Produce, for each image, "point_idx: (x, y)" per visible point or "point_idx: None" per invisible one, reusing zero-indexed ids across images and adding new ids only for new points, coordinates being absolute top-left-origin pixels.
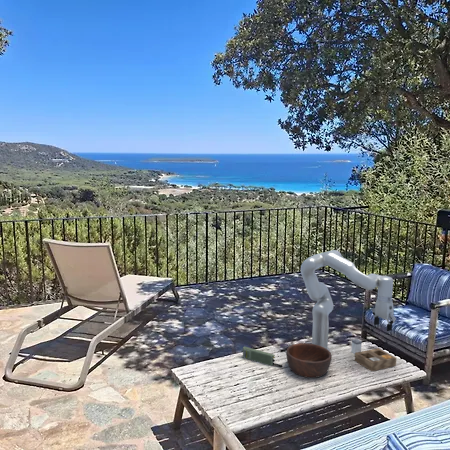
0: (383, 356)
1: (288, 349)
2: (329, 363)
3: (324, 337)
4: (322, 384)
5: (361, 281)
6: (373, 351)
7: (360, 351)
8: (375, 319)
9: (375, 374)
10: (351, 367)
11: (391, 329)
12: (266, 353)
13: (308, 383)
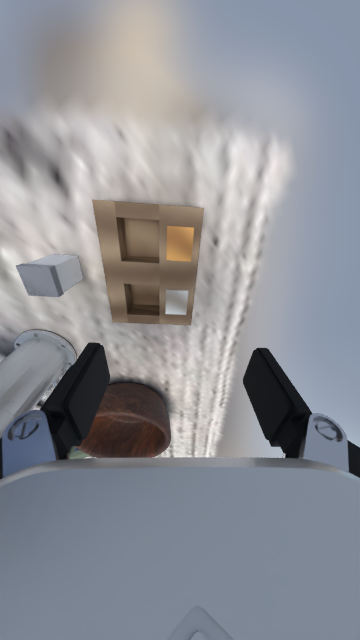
0: (174, 257)
1: (97, 456)
2: (163, 415)
3: (37, 394)
4: (185, 408)
5: None
6: (119, 254)
7: (73, 260)
8: (89, 429)
9: (205, 313)
10: (151, 338)
11: (268, 353)
12: (86, 456)
13: (173, 419)
